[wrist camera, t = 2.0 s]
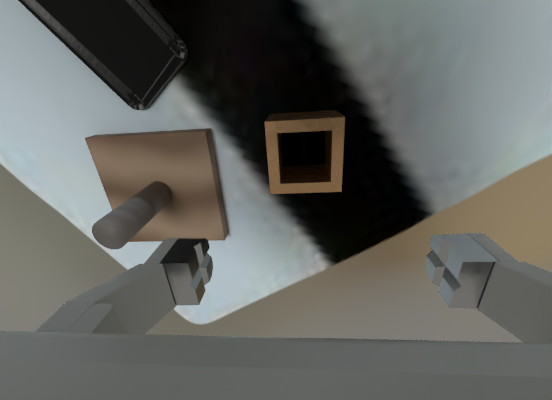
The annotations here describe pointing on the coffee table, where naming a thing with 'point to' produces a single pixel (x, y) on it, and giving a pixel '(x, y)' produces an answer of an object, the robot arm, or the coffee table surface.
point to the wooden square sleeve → (305, 175)
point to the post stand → (158, 187)
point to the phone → (117, 43)
